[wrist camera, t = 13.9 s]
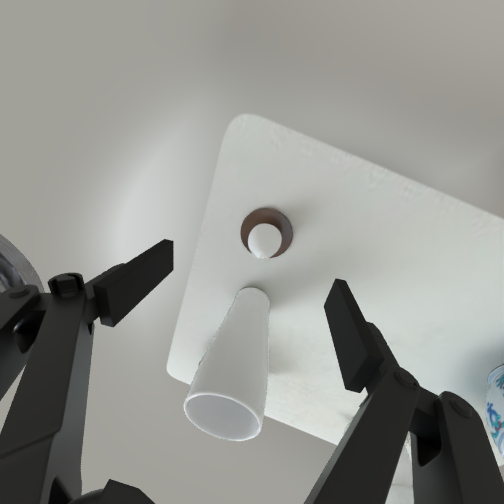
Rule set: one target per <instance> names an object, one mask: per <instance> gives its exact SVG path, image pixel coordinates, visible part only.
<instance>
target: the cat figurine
mask: <svg viewBox="0 0 504 504" xmlns="http://www.w3.org/2000/svg"><path fill="white" fill-rule="evenodd" d="M350 424H351V423H350ZM350 424H348V425H347V426H346V427H345V430H344V434H345V432H346V431H347V429H348V427H349V425H350ZM343 436H344V435H343ZM412 482H413V476H412V465H411V461H410V458H409V454H408V452H407V449H406V447H405V445H404V446H403V449H402V452H401V455H400V458H399V462H398V465H397V468H396V471H395V474H394V477H393V480H392V484H391V487H390V490H389V493H388V496H387V499H386V502H385V504H414V496H413V489H412V488H411V485H412Z"/></svg>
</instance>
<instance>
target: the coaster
mask: <svg viewBox="0 0 504 504" xmlns="http://www.w3.org/2000/svg"><path fill="white" fill-rule="evenodd" d="M259 224H270V225H273V226H274V227H276V228H277V229H278V230H279V231H280V233H281V237H282V241H281V245H280V248H279V249H278V251H277V252H276V253H275V254H274V255H273V256H271V257H269V258H273V257H276V256H279V255H281V254H282V253H284V252H285V251H286V250H287V249H288V247H289V246H290V244H291V241H292V236H293V232H292V227H291V224H290V222H289V220H288V219H287V217H286V216H285V215H283V214H282V213H281V212H279V211H277V210H274V209H270V208H262V209H258V210H255V211H253V212H252V213H250V214H249V215H248V216H247V217H246V218H245V220H244V222H243V224H242V227H241V239H242V242H243V244H244V246H245V247H246V248H247V250H248V251H250V249H249V246H248V237H249V234H250V232H251V231H252V229H253V228H254V227H255V226H257V225H259ZM250 252H251V251H250ZM251 253H252V252H251Z"/></svg>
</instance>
